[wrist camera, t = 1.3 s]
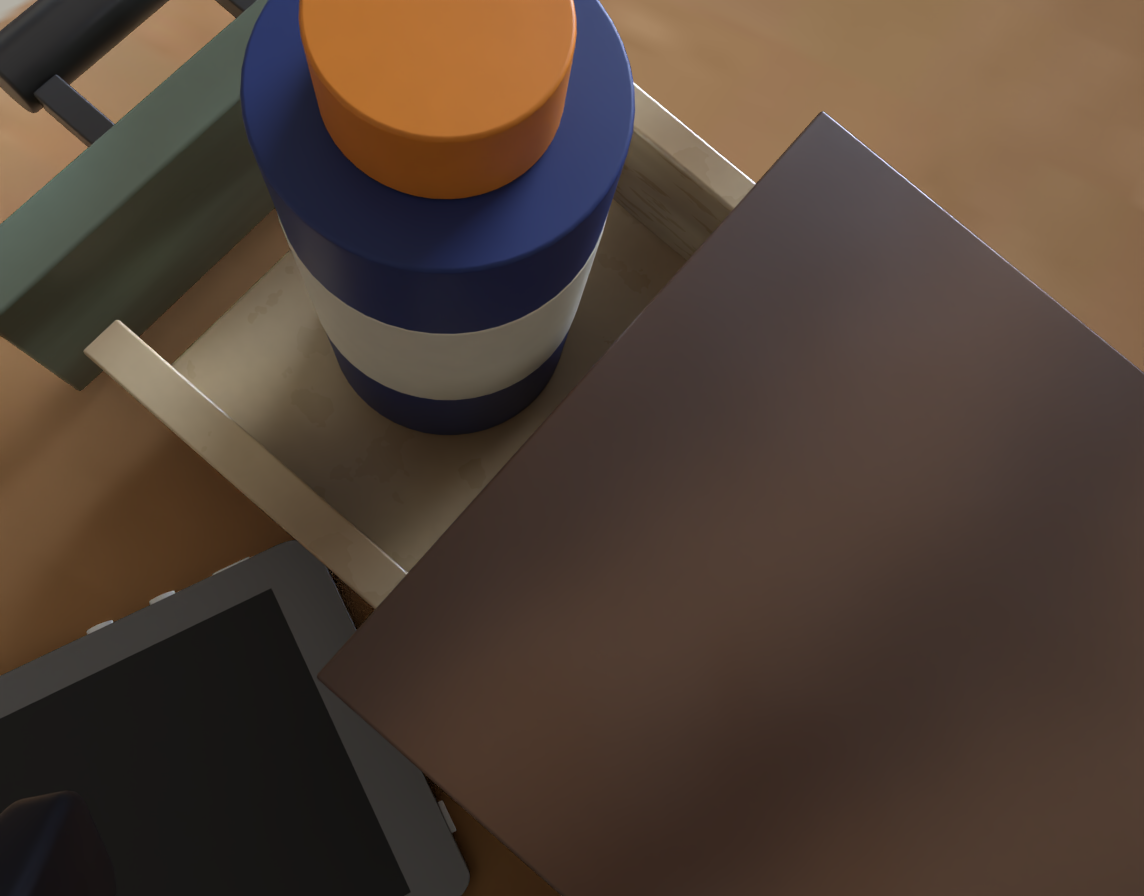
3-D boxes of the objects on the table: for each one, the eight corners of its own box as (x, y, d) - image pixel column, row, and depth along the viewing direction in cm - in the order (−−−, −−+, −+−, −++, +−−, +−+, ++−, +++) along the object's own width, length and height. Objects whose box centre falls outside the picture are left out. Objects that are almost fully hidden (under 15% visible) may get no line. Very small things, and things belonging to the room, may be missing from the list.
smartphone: (315, 527, 22) (310, 522, 21) (481, 880, 20) (482, 888, 20) (-425, 877, 19) (-459, 885, 18) (-278, 1311, 18) (-309, 1338, 17)
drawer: (-98, 236, 21) (-236, 131, 17) (304, -107, 23) (270, -269, 19) (494, 758, 20) (503, 783, 16) (839, 339, 22) (922, 267, 18)
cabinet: (355, 672, 21) (314, 676, 15) (733, 244, 24) (822, 108, 18) (858, 1117, 20) (1023, 1306, 14) (1182, 617, 23) (1428, 603, 17)
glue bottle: (458, 485, 20) (458, 314, 10) (279, 329, 20) (107, 15, 10) (612, 315, 21) (746, 13, 11) (440, 170, 21) (423, -250, 11)
